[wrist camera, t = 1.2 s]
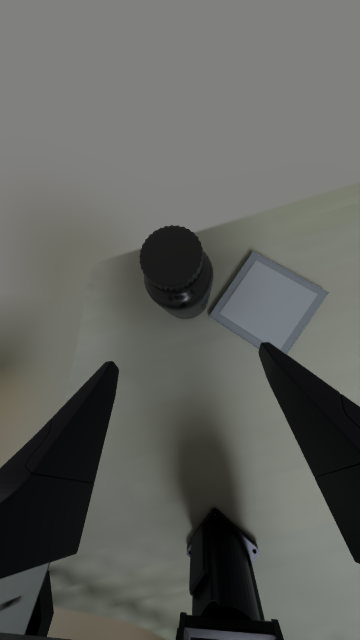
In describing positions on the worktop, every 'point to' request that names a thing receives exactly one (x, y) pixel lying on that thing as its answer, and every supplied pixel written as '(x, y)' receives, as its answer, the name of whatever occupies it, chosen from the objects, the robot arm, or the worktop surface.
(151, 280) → the supplement bottle
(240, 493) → the worktop surface
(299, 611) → the worktop surface
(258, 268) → the plate
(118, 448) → the worktop surface
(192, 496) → the worktop surface
